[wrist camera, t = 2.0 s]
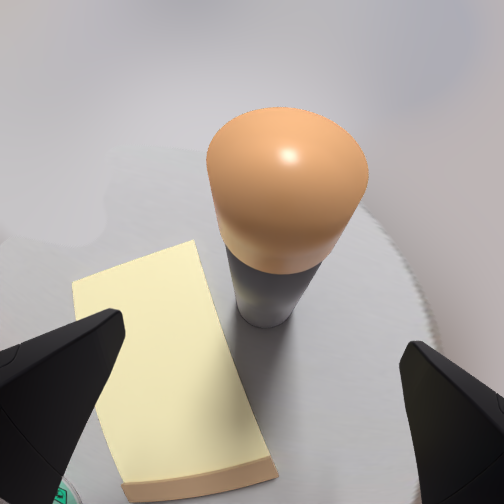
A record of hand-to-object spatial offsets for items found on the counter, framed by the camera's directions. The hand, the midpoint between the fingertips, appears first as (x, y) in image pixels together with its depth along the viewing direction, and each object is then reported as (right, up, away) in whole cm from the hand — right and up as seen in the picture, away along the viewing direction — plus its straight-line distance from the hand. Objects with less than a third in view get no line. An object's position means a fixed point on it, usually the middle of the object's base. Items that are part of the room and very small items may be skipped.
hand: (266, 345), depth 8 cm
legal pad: (-7, -6, +9) cm, 13 cm away
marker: (+1, -1, +12) cm, 12 cm away
